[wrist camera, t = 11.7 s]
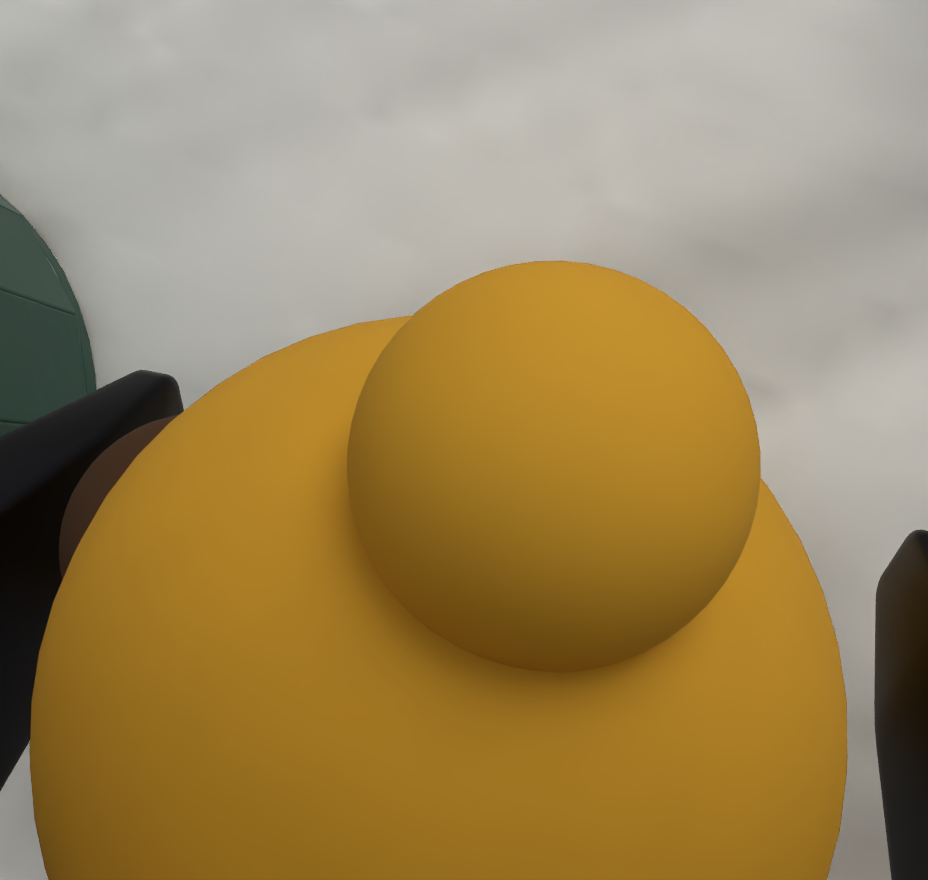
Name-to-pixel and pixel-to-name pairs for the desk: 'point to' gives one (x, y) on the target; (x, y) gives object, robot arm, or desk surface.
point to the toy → (445, 614)
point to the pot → (37, 328)
